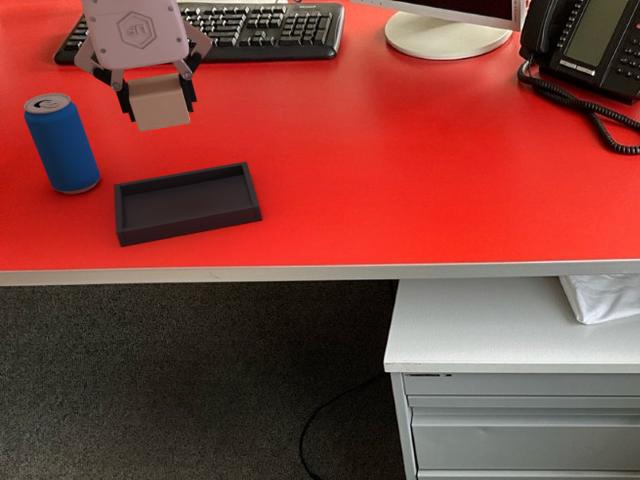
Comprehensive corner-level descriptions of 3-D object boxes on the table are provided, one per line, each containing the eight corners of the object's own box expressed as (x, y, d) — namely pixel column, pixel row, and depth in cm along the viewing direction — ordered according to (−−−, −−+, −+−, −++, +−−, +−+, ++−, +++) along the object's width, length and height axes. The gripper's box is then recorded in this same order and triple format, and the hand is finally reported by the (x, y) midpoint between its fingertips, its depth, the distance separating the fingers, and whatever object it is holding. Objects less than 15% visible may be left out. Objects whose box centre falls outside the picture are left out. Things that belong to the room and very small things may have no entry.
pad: (139, 132, 107) (129, 100, 104) (137, 111, 111) (127, 80, 108) (190, 123, 108) (182, 91, 105) (186, 103, 112) (178, 72, 109)
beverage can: (75, 170, 126) (45, 88, 118) (112, 177, 124) (84, 95, 116) (42, 192, 122) (8, 109, 114) (80, 200, 120) (48, 116, 112)
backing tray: (120, 246, 111) (115, 232, 110) (118, 198, 120) (113, 184, 119) (262, 220, 116) (259, 205, 114) (250, 174, 124) (246, 161, 123)
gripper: (30, -22, 92) (88, 138, 104) (200, -44, 96) (237, 113, 108) (33, -44, 98) (88, 111, 110) (194, -63, 102) (230, 89, 114)
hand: (161, 111), depth 109 cm, fingers closed on pad, 6 cm apart
